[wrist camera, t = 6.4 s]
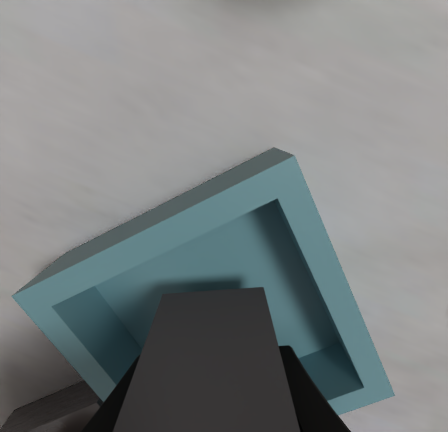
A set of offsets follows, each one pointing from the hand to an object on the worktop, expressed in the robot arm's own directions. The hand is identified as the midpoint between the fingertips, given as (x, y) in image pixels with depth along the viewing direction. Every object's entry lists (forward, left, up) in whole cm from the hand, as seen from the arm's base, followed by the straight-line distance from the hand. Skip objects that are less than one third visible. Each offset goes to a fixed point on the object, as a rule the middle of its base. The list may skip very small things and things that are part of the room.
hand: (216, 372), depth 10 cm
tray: (0, 0, -5) cm, 5 cm away
